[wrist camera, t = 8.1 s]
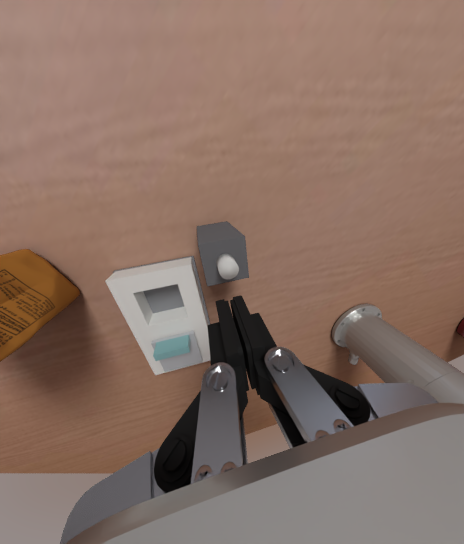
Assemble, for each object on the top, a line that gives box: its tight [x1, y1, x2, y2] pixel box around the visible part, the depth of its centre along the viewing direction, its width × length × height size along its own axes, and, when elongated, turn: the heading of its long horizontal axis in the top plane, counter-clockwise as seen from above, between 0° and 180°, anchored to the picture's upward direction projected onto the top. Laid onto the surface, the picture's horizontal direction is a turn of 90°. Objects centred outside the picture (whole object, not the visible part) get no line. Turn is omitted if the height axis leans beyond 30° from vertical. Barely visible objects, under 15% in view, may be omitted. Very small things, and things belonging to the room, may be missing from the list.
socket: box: [105, 256, 211, 375], centre depth 28 cm, size 20×12×4 cm, turn 8°
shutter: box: [151, 331, 203, 372], centre depth 27 cm, size 7×7×3 cm
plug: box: [197, 221, 249, 286], centre depth 20 cm, size 4×4×12 cm
